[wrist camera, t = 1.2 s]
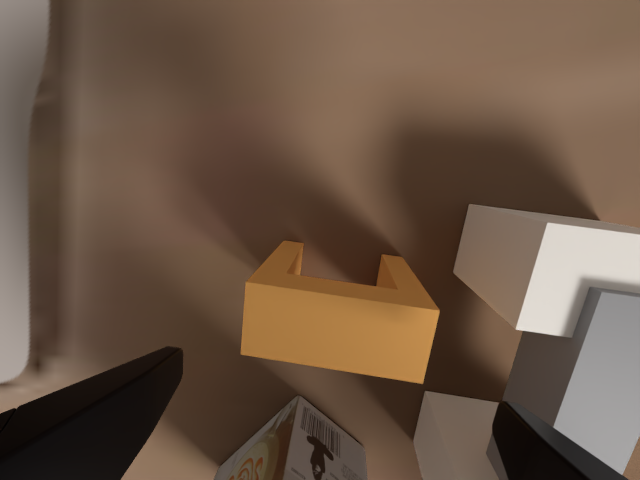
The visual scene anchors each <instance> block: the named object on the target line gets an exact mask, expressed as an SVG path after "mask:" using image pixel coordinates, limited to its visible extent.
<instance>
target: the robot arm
mask: <svg viewBox="0 0 640 480" xmlns="http://www.w3.org/2000/svg"><path fill="white" fill-rule="evenodd" d="M182 374H183V350H182V349H181V348H177V347H171V346H167V347H165V348H162V349H160V350H157V351H155V352H152V353H150V354H147V355H145V356H142V357H140V358H137V359H135V360H132V361H130V362H127V363H125V364H122V365H120V366H117V367H115V368H112V369H110V370H108V371H105V372H103V373H100V374H98V375H95V376H93V377H90V378H88V379H85V380H83V381H80V382H78V383H75V384H73V385H70V386H68V387H65V388H63V389H60V390H58V391H55V392H53V393H50V394H48V395H45V396H43V397H40V398H38V399H36V400H33V401H31V402H28V403H26V404H23V405H21V406H19V407H18V408H17V409H16V408H13V409H10V410H8V411H6V412H3V413H1V414H0V480H121V478H122V477H123V475H124V474H125V472H126V471H127V469H128V468H129V466H130V465H131V463H132V462H133V460H134V459H135V457H136V456H137V455H138V453H139V452H140V450H141V449H142V447H143V446H144V444H145V443H146V441H147V440H148V438H149V437H150V435H151V433H152V432H153V430H154V428H155V427H156V425H157V423H158V421H159V419H160V418H161V416H162V414H163V412H164V410H165V409H166V407H167V405H168V403H169V401H170V399H171V398H172V396H173V394H174V392H175V390H176V389H177V387H178V385H179V383H180V381H181V379H182ZM492 433H493V437H494V440H495V443H496V446H497V449H498V451H499V454H500V457H501V460H502V463H503V466H504V469H505V472H506V475H507V478H508V480H628V479H627V478H626V477H624V476H623V475H621V474H620V473H618V472H617V471H615V470H614V469H613V468H611V467H610V466H608V465H607V464H605V463H604V462H602V461H601V460H600V459H598V458H597V457H595V456H594V455H592V454H591V453H589V452H588V451H587V450H585V449H584V448H582V447H581V446H579V445H578V444H576V443H575V442H574V441H572V440H571V439H569V438H568V437H566V436H565V435H563V434H562V433H561V432H559V431H558V430H556V429H555V428H553V427H552V426H551V425H549V424H548V423H546V422H545V421H543V420H542V419H540V418H539V417H538V416H536V415H535V414H533V413H532V412H530V411H529V410H527V409H526V408H525V407H523V406H522V405H520V404H519V403H516V402H511V401H505V400H502V401H500V402H499V404H498V407H497V410H496V413H495V417H494V420H493V423H492Z"/></svg>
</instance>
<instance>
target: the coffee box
mask: <svg viewBox="0 0 640 480" xmlns="http://www.w3.org/2000/svg"><path fill="white" fill-rule="evenodd" d="M214 480H367V467H366V456H365V449H364V447H363V446H362V445H360V444H359V443H358V442H357V441H356V440H354V439H353V438H352V437H351V436H349V435H348V434H347V433H346V432H345V431H343V430H342V429H341V428H340V427H338V426H337V425H336V424H335V423H333V422H332V421H331V420H330V419H329V418H327V417H326V416H325V415H324V414H322V413H321V412H320V411H319V410H317V409H316V408H315V407H314V406H312V405H311V404H310V403H309V402H307V401H306V400H305V399H304V398H303V397H301V396H299V395H298V396H296V397H295V398H294V399H293V400H292V401H290V402H289V403H288V404H287V405H286V406H285V407H284V408H283V409H282V410H281V411H279V412H278V413H277V414H276V415H275V416H274V417H273V418H272V419H271V420H270V421H269V422H268V423H267V424H266V425H265V426H263V427H262V428H261V429H260V430H259V431H258V432H257V433H256V434H255V435H254V436H252V437H251V438H250V439H249V440H248V441H247V442H246V443H245V444H244V445H243V446H242V447H241V448H240V449H238V450H237V451H236V452H235V453H234V454H233V455H232V456H231V457H230V458H229V459H228V460H227V461H225V462H224V463H223V464H222V465H221V466H220V467H219V469H218V471H217V473H216V475H215V478H214Z"/></svg>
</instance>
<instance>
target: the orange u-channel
mask: <svg viewBox="0 0 640 480" xmlns="http://www.w3.org/2000/svg"><path fill="white" fill-rule="evenodd" d="M303 246H304V243H299V242H292V241H285V240H284V241H283V242H282V243H281V244H280V245H279V246H278V247H277V248H276V249H275V251H274V252H273V253H272V254H271V255H270V256H269V257H268V258H267V259H266V260H265V262H264V263H263V264H262V265H261V266H260V267H259V268H258V269H257V270H256V271H255V272H254V274H253V275H252V276H251V277H250V278H249V279H248V280H247V281H246V286H245V300H244V314H243V328H242V342H241V355H246V356H253V357H259V358H265V359H271V360H277V361H284V362H290V363H296V364H302V365H308V366H315V367H321V368H327V369H333V370H340V371H346V372H352V373H358V374H364V375H371V376H377V377H383V378H389V379H395V380H402V381H408V382H414V383H420V384H423V381H424V377H425V373H426V368H427V364H428V360H429V356H430V351H431V347H432V343H433V338H434V334H435V330H436V326H437V321H438V317H439V313H440V310H439V309H438V307H437V306H436V304H435V303H434V301H433V300H432V299H431V297H430V296H429V294H428V293H427V291H426V290H425V289H424V287H423V286H422V284H421V283H420V281H419V280H418V279H417V277H416V276H415V274H414V273H413V271H412V270H411V269H410V267H409V266H408V264H407V263H406V261H405V260H404V259H403V257H399V256H392V255H385V254H382V255H381V261H380V267H379V272H378V278H377V284H376V286H370V285H363V284H356V283H349V282H342V281H335V280H328V279H321V278H315V277H308V276H301V275H300V272H301V263H302V255H303Z"/></svg>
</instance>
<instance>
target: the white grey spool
mask: <svg viewBox="0 0 640 480" xmlns="http://www.w3.org/2000/svg"><path fill="white" fill-rule="evenodd" d="M453 273H454V274H455V275H456V276H457V277H458V278H459V279H460V280H462V281H463V282H464V283H465V284H466V285H467V286H468V287H469V288H470V289H472V290H473V291H474V292H475V293H476V294H477V295H478V296H479V297H480V298H481V299H483V300H484V301H485V302H486V303H487V304H488V305H489V306H490V307H491V308H492V309H494V310H495V311H496V312H497V313H498V314H499V315H500V316H501V317H502V318H503V319H505V320H506V321H507V322H508V323H509V324H510V325H511V326H512V327H513V328H515V329H516V330H522V331H523V333H522V336H521V340H520V343H519V346H518V349H517V353H516V356H515V359H514V362H513V366H512V369H511V372H510V375H509V379H508V382H507V385H506V389H505V392H504V395H503V398H502V400H505V401H511V402H516V403H519V404H520V405H522V406H523V407H525V408H526V409H527V410H529V411H530V412H532V413H533V414H535V415H536V416H538V417H539V418H540V419H542V420H543V421H545V422H546V423H548V424H549V425H551V426H552V427H553V428H555V429H556V430H558V431H559V432H561V433H562V434H563V435H565V436H566V437H568V438H569V439H571V440H572V441H574V442H575V443H576V444H578V445H579V446H581V447H582V448H584V449H585V450H587V451H588V452H589V453H591V454H592V455H594V456H595V457H597V458H598V459H600V460H601V461H602V462H604V463H605V464H607V465H608V466H610V467H611V468H613V469H614V470H615V471H617V472H618V473H620V474H621V475H622V474H623V472H624V470H625V468H626V465H627V463H628V461H629V459H630V456H631V454H632V452H633V450H634V447H635V445H636V443H637V440H638V438H639V436H640V228H637V227H632V226H626V225H621V224H615V223H610V222H604V221H597V220H590V219H582V218H574V217H567V216H559V215H551V214H543V213H536V212H528V211H520V210H513V209H505V208H497V207H489V206H482V205H474V204H469V206H468V211H467V215H466V219H465V223H464V227H463V232H462V236H461V240H460V244H459V249H458V253H457V257H456V261H455V266H454V270H453ZM498 404H499V403H498V402H492V401H485V400H479V399H473V398H467V397H461V396H455V395H448V394H442V393H436V392H430V391H425V393H424V397H423V401H422V405H421V410H420V414H419V418H418V422H417V427H416V431H415V435H414V439H413V444H414V448H415V452H416V456H417V460H418V464H419V468H420V471H421V475H422V479H423V480H508V478H507V475H506V472H505V469H504V466H503V463H502V460H501V457H500V454H499V451H498V449H497V446H496V443H495V440H494V437H493V433H492V423H493V420H494V417H495V413H496V410H497V407H498Z"/></svg>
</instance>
